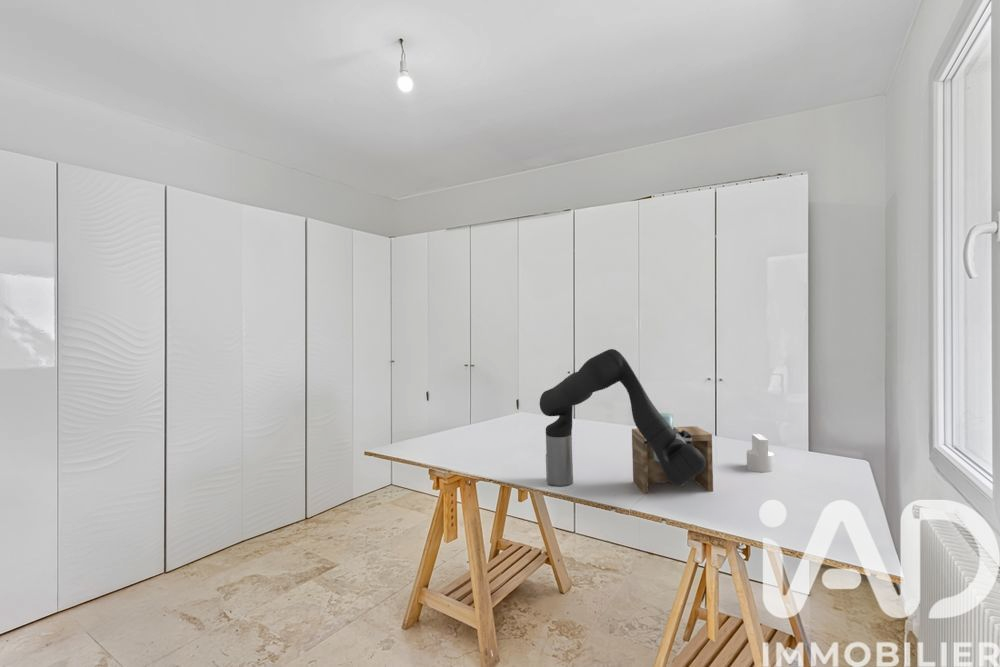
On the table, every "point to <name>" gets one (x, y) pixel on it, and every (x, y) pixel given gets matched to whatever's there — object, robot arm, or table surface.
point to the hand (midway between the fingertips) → (662, 430)
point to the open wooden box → (651, 470)
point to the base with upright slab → (760, 455)
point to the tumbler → (670, 421)
